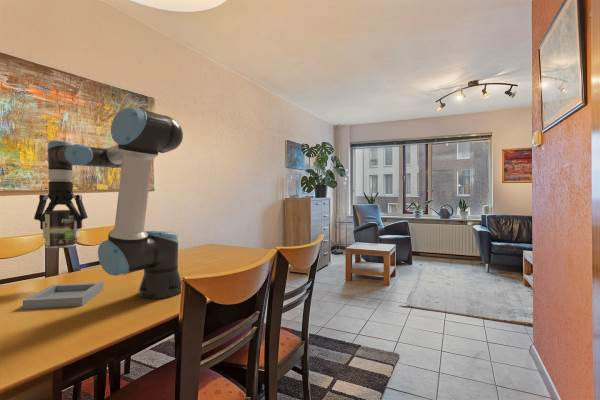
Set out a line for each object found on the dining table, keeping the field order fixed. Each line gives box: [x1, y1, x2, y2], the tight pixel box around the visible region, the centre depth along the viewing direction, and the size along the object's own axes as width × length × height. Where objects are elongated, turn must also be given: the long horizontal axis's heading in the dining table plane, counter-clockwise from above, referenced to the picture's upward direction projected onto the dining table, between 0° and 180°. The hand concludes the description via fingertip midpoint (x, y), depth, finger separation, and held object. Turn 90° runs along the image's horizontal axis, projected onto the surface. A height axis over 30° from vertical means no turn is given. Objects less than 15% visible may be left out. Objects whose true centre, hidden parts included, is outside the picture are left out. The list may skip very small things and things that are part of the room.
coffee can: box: [43, 209, 78, 249], centre depth 123 cm, size 10×10×14 cm
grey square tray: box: [22, 281, 104, 310], centre depth 110 cm, size 17×17×3 cm
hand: (61, 237), depth 123 cm, fingers closed on coffee can, 10 cm apart
